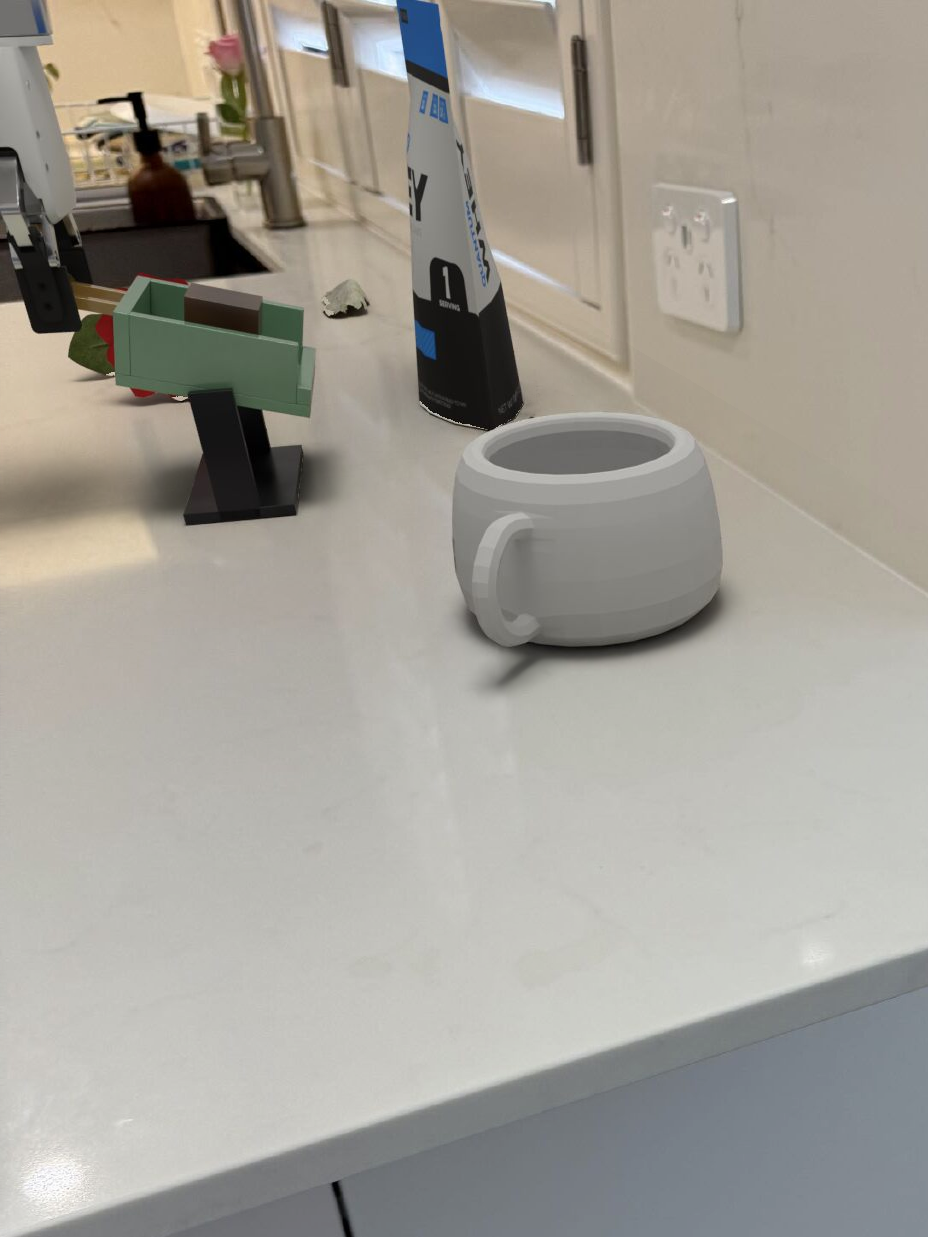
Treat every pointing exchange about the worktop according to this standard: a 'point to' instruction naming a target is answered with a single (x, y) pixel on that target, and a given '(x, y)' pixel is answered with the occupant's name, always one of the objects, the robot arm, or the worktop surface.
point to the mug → (585, 529)
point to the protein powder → (451, 249)
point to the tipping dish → (204, 348)
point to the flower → (102, 342)
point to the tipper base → (239, 464)
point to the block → (223, 308)
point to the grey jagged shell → (346, 296)
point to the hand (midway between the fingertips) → (67, 318)
